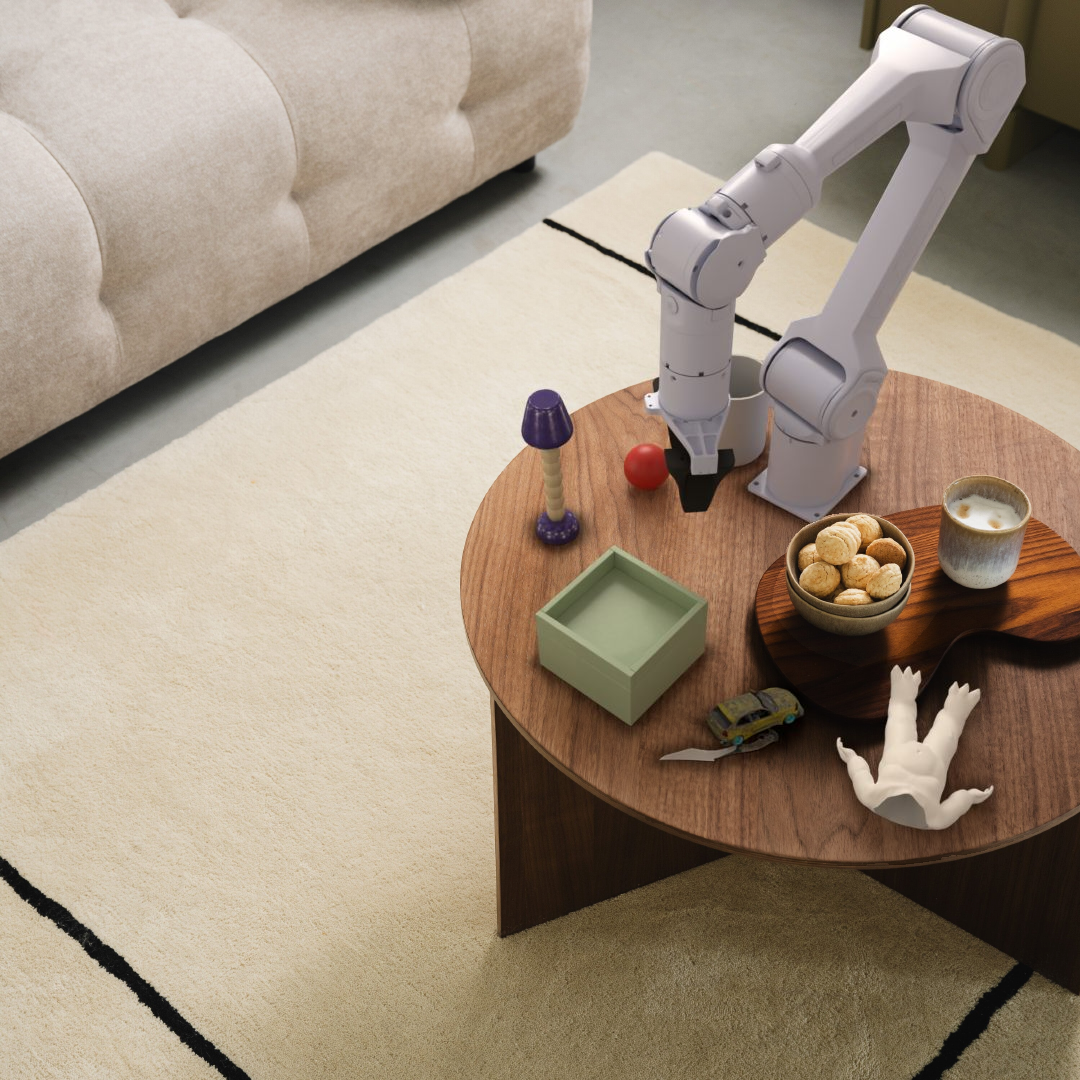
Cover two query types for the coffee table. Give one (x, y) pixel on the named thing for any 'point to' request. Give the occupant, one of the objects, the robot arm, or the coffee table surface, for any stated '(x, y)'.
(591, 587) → the open box
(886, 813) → the toy creature
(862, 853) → the coffee table surface
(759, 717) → the race car
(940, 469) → the coffee table surface
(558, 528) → the toy lamp
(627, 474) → the ball
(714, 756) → the knife
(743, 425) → the cup
